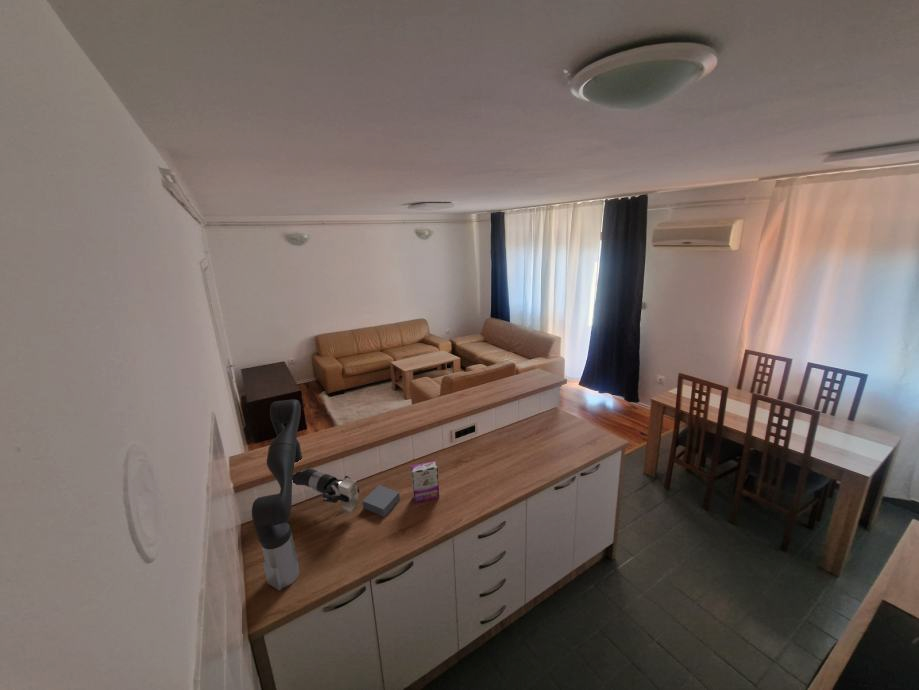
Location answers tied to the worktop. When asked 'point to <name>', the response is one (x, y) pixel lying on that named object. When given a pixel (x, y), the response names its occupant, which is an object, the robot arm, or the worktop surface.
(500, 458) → the worktop surface
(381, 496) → the charcoal plinth
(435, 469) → the candy bar box
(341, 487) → the cream block
